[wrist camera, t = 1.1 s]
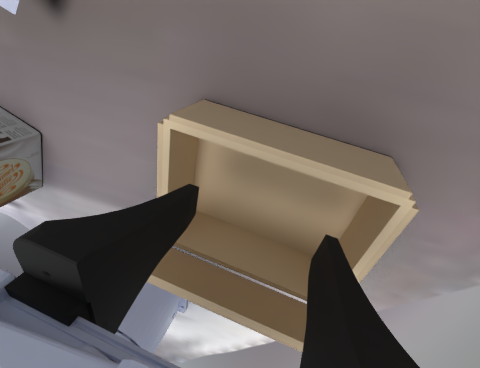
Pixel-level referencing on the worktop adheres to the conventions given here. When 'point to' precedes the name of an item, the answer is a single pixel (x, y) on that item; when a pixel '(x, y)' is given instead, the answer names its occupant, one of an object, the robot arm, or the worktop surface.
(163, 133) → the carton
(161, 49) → the worktop surface
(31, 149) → the coffee box
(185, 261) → the lid flap
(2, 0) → the wedge on round base
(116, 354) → the robot arm
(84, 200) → the worktop surface
